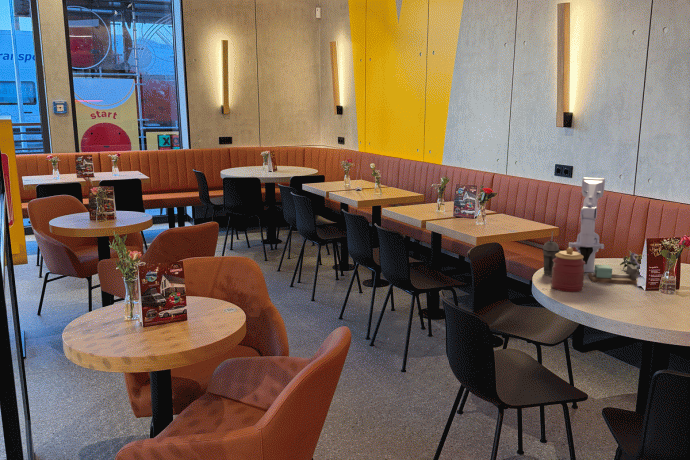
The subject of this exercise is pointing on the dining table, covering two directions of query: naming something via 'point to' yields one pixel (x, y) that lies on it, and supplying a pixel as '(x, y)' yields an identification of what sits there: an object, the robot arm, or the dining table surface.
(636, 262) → the passion flower
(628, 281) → the rail board
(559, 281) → the canister
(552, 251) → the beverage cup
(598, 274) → the keeper
